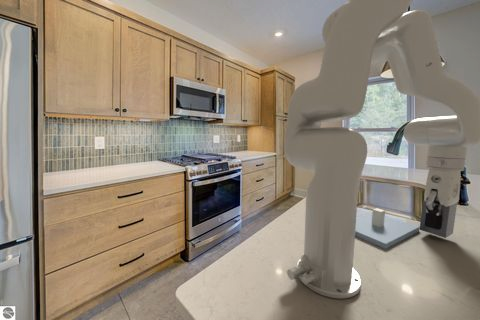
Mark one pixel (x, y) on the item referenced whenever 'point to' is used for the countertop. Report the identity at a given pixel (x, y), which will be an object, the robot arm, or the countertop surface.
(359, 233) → the post board
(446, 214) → the grey block
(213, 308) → the countertop surface
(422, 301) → the countertop surface
